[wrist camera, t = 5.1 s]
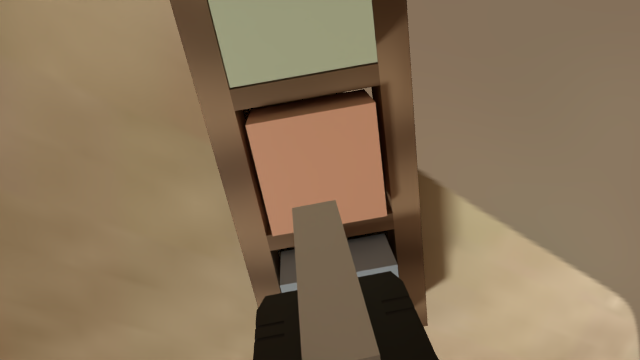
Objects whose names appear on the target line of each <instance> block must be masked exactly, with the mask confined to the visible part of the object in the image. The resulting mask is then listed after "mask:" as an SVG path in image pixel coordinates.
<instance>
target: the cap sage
mask: <svg viewBox="0 0 640 360" xmlns="http://www.w3.org/2000/svg"><path fill="white" fill-rule="evenodd" d="M208 2H209V6H210V10H211V14H212V18H213V22H214V26H215V30H216V34H217V38H218V42H219V46H220V50H221V54H222V58H223V62H224V66H225V70H226V74H227V78H228V82H229V86H230V88H232V87H238V86H244V85H249V84H255V83H260V82H266V81H272V80H277V79H283V78H289V77H294V76H300V75H306V74H311V73H317V72H323V71H328V70H334V69H340V68H345V67H351V66H357V65H362V64H368V63H374V62H378V60H377V50H376V40H375V30H374V19H373V9H372V0H208Z"/></svg>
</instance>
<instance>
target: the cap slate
mask: <svg viewBox="0 0 640 360" xmlns="http://www.w3.org/2000/svg"><path fill="white" fill-rule="evenodd" d="M347 242H348V245H349V249H350V252H351V256H352V259H353V263H354V266H355V270H356V273H357V277H361V276H367V275H372V274H377V273H382V272H387V271H391V272H392V273H394V274H395V275H396V276H397V277H398V278H399V275H398V265H397V262H396V260H395V257H394V255H393V253H392V250H391V248H390V246H389V243H388V241H387V238H386V236H385V234H384V233H383V234H378V235H372V236H366V237H361V238H355V239H350V240H347ZM280 288H281V292H282V293H284V292H289V291H295V290H297V276H296V261H295V249H293V250H288V251H282V252H281V265H280Z"/></svg>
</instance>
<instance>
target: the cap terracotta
mask: <svg viewBox="0 0 640 360" xmlns="http://www.w3.org/2000/svg"><path fill="white" fill-rule="evenodd" d="M245 126H246V130H247V134H248V138H249V142H250V146H251V150H252V154H253V158H254V162H255V166H256V170H257V174H258V179H259V183H260V187H261V191H262V195H263V199H264V203H265V207H266V211H267V215H268V219H269V223H270V227H271V231H272V235H273V236H277V235H283V234H289V233H294V230H293V215H292V208H295V207H300V206H305V205H311V204H316V203H321V202H327V201H332V200H336V203H337V207H338V210H339V214H340V217H341V221H342V224H345V223H351V222H356V221H362V220H367V219H373V218H379V217H384V216H387V209H386V200H385V190H384V180H383V171H382V161H381V152H380V142H379V132H378V123H377V113H376V104H375V101H374V100H373V99H372V98H371V97H370V96H369V95H368V93H367V92H366V91H365V90H364V89H363V90H358V91H352V92H346V93H340V94H335V95H329V96H323V97H318V98H312V99H307V100H301V101H295V102H290V103H284V104H278V105H273V106H267V107H261V108H256V109H251V111H250V114H249V116H248V119H247V122H246V125H245Z"/></svg>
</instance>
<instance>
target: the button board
mask: <svg viewBox="0 0 640 360" xmlns="http://www.w3.org/2000/svg"><path fill="white" fill-rule="evenodd" d="M170 3H171V6H172V10H173V13H174V17H175V20H176V24H177V27H178V31H179V34H180V37H181V41H182V44H183V48H184V51H185V55H186V58H187V62H188V65H189V69H190V72H191V76H192V79H193V83H194V86H195V90H196V93H197V96H198V100H199V103H200V107H201V110H202V114H203V117H204V121H205V124H206V128H207V131H208V135H209V138H210V142H211V145H212V149H213V152H214V155H215V159H216V162H217V166H218V169H219V173H220V176H221V180H222V183H223V187H224V190H225V194H226V197H227V201H228V204H229V207H230V211H231V214H232V218H233V221H234V225H235V228H236V232H237V235H238V239H239V242H240V246H241V249H242V253H243V256H244V260H245V263H246V266H247V270H248V273H249V277H250V280H251V284H252V287H253V291H254V294H255V298H256V301H257V305H258V308H259V306H260V304H261V302H262V301H263V299H264V297H265V296H268V295H274V294H279V293H282V292H281V288H280V265H281V264H280V260H279V256H278V252H277V250H278V249H284V248H289V247H295V246H294V233H289V234H283V235H277V236H273V235H272V231H271V227H270V223H269V219H268V215H267V211H266V207H265V203H264V199H263V195H262V191H261V187H260V183H259V179H258V174H257V170H256V166H255V162H254V158H253V154H252V150H251V146H250V142H249V138H248V134H247V130H246V126H245V125H246V121H245V117H244V112H243V109H249V108H255V107H260V106H266V105H272V104H277V103H283V102H289V101H294V100H300V99H305V98H311V97H317V96H322V95H328V94H334V93H339V92H345V91H351V90H356V89H362V88H367V87H372V95H373V100H374V101H375V104H376V113H377V123H378V132H379V142H380V152H381V161H382V171H383V180H384V190H385V200H386V209H387V216H384V217H379V218H373V219H367V220H362V221H356V222H351V223H345V224H343V228H344V231H345V235H346V237H351V236H357V235H363V234H368V233H374V232H380V231H385V230H387V236H388V243H389V246H390V248H391V250H392V253H393V255H394V257H395V260H396V262H397V265H398V275H399V278H400V279H401V280H402V281H403V282H404V284H405V287H406V289H407V291H408V293H409V296H410V298H411V300H412V302H413V305H414V307H415V310H416V311H417V314H418V316H419V318H420V320H421V323H422V325H423V326H428V324H427V309H426V293H425V278H424V262H423V247H422V232H421V216H420V201H419V185H418V170H417V155H416V139H415V124H414V108H413V93H412V78H411V63H410V47H409V32H408V16H407V1H406V0H372V9H373V19H374V30H375V40H376V50H377V60H378V62H374V63H368V64H362V65H357V66H351V67H345V68H340V69H334V70H328V71H323V72H317V73H311V74H306V75H300V76H294V77H289V78H283V79H277V80H272V81H266V82H260V83H255V84H249V85H244V86H238V87H232V88H230V86H229V82H228V78H227V74H226V70H225V66H224V62H223V58H222V54H221V50H220V46H219V42H218V38H217V34H216V30H215V26H214V22H213V18H212V14H211V10H210V6H209V2H208V0H170Z"/></svg>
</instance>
